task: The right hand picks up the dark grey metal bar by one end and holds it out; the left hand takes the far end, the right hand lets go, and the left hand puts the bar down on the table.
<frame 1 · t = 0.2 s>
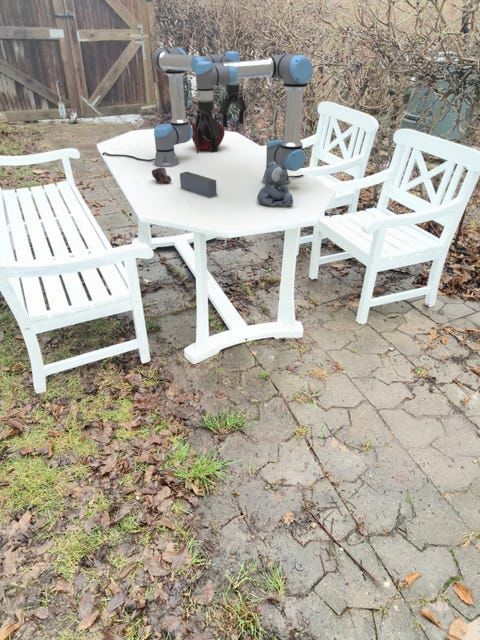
left hand: (233, 125, 259), 28 cm above the table, tool pointing down, fingers open, 13 cm apart
right hand: (207, 148, 217), 27 cm above the table, tool pointing down, fingers open, 13 cm apart
bar: (198, 191, 248), on the table
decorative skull: (208, 148, 326), on the table
koala plush: (274, 202, 233), on the table
rock: (161, 182, 263), on the table
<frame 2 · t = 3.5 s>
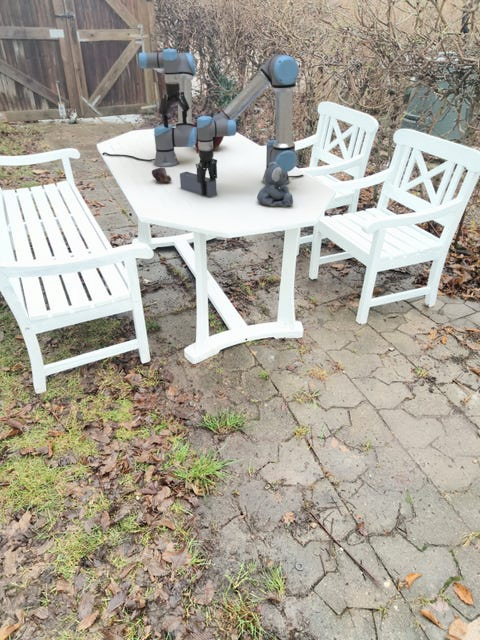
left hand: (175, 125, 251), 30 cm above the table, tool pointing down, fingers open, 13 cm apart
right hand: (208, 193, 244), 1 cm above the table, tool pointing down, fingers closed on bar, 5 cm apart
bar: (198, 191, 248), on the table, touching right hand
everything else where it was.
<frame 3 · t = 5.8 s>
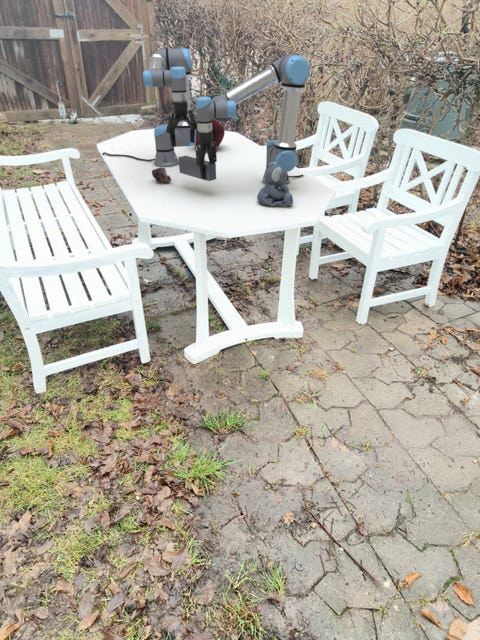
left hand: (183, 144, 243), 23 cm above the table, tool pointing down, fingers open, 13 cm apart
right hand: (207, 177, 239), 9 cm above the table, tool pointing down, fingers closed on bar, 5 cm apart
bar: (197, 175, 243), point 9 cm above the table, touching right hand
everything else where it was.
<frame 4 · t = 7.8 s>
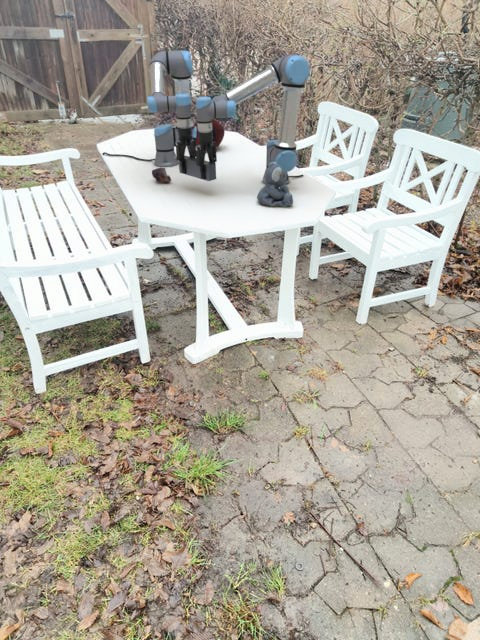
left hand: (187, 171, 247), 9 cm above the table, tool pointing down, fingers closed on bar, 5 cm apart
right hand: (207, 177, 239), 9 cm above the table, tool pointing down, fingers closed on bar, 5 cm apart
bar: (197, 175, 243), point 9 cm above the table, touching left hand, right hand
everything else where it was.
when the right hand's fingers open (9 cm above the table, at t = 8.5 s): bar stays where it is, held by the left hand.
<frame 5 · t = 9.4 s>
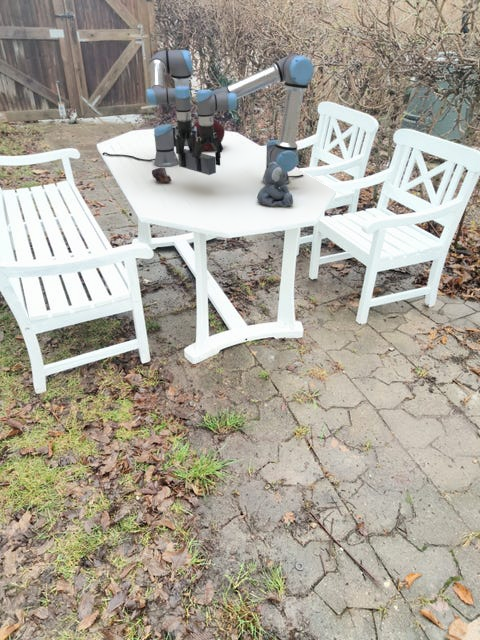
left hand: (187, 165, 246), 13 cm above the table, tool pointing down, fingers closed on bar, 5 cm apart
right hand: (208, 168, 235), 14 cm above the table, tool pointing down, fingers open, 13 cm apart
bar: (197, 169, 242), point 12 cm above the table, touching left hand
everything else where it was.
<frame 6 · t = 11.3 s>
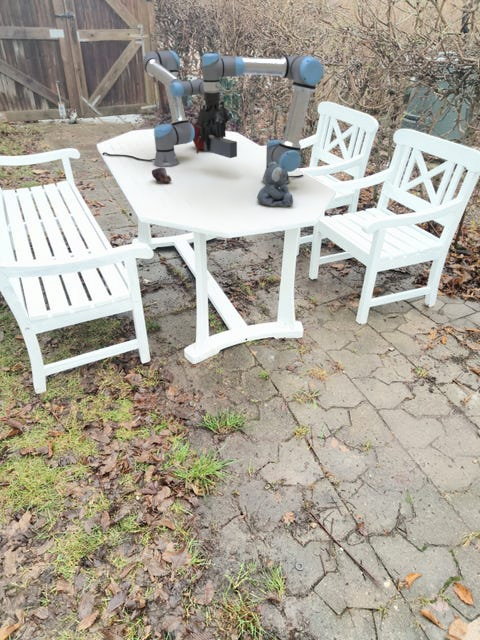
left hand: (212, 149, 271), 13 cm above the table, tool pointing down, fingers closed on bar, 5 cm apart
right hand: (213, 139, 224), 30 cm above the table, tool pointing down, fingers open, 13 cm apart
bar: (220, 153, 267), point 13 cm above the table, touching left hand
everything else where it was.
when the left hand's fingers open (2 cm above the table, at t = 15.2 s): bar drops 2 cm, on the table.
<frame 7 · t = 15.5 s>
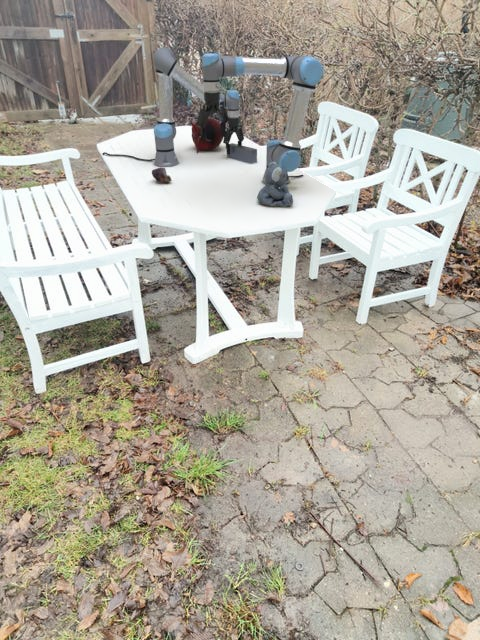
left hand: (233, 152, 304), 3 cm above the table, tool pointing down, fingers open, 10 cm apart
right hand: (213, 139, 224), 30 cm above the table, tool pointing down, fingers open, 13 cm apart
bar: (241, 159, 301), on the table
everything else where it was.
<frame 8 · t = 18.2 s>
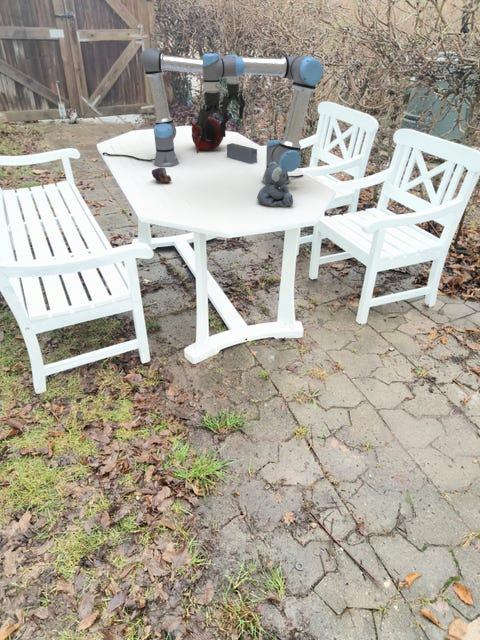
left hand: (233, 119, 293), 24 cm above the table, tool pointing down, fingers open, 13 cm apart
right hand: (213, 139, 224), 30 cm above the table, tool pointing down, fingers open, 13 cm apart
nothing on the table moved.
at the end: bar inside the target area (7.6 cm from its centre), on the table; the left hand is holding nothing; the right hand is holding nothing; bar at rest at the end (0.0 cm/s) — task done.
